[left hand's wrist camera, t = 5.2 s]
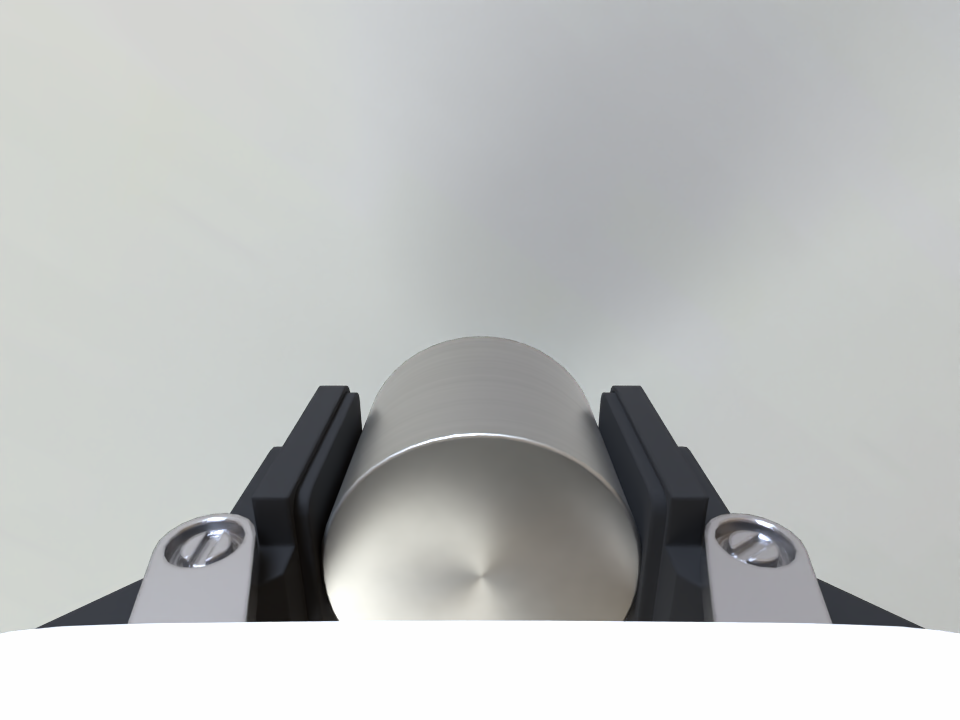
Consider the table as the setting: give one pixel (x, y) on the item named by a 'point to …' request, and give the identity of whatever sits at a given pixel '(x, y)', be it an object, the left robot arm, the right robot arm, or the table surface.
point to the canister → (481, 497)
